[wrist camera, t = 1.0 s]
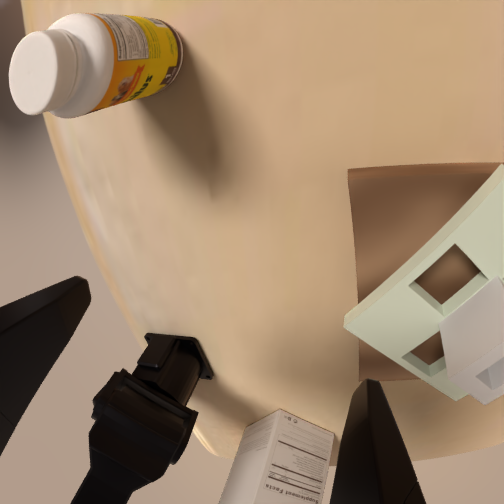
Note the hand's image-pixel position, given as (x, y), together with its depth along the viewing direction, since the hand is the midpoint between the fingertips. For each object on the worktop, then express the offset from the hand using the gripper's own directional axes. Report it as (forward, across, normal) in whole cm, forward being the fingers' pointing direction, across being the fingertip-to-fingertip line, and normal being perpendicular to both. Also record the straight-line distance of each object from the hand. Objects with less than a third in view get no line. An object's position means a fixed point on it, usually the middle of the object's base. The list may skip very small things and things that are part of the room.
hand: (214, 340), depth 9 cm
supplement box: (+14, -8, +32) cm, 36 cm away
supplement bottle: (+14, +11, -6) cm, 19 cm away
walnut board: (+14, -15, +3) cm, 20 cm away
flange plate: (+11, -15, +3) cm, 19 cm away
